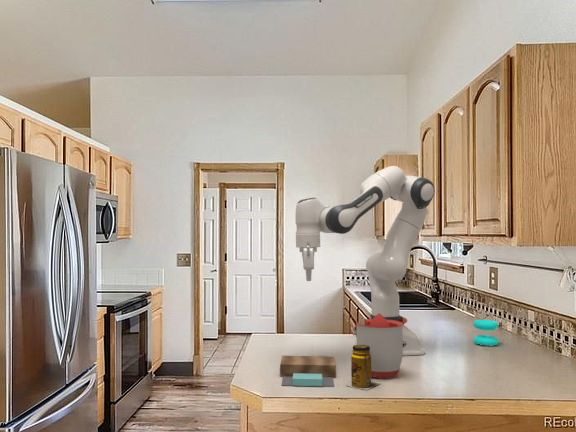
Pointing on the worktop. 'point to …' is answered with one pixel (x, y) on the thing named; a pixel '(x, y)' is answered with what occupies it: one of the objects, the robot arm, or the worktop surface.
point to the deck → (308, 365)
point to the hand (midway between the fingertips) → (308, 280)
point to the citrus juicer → (382, 344)
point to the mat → (325, 383)
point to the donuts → (487, 326)
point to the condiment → (361, 368)
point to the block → (307, 379)
